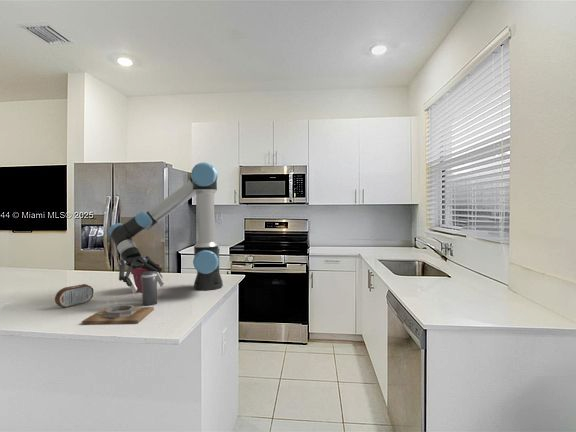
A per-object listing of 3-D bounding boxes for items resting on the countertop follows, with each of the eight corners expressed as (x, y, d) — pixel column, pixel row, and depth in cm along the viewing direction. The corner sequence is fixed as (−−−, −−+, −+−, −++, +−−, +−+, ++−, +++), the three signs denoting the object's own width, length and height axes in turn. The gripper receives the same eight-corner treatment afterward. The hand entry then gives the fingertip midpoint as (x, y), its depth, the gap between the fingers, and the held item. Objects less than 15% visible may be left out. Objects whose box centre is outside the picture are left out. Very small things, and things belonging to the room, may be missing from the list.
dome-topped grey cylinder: (159, 301, 146) (159, 271, 146) (154, 305, 140) (154, 273, 140) (145, 301, 146) (145, 271, 146) (139, 305, 140) (139, 273, 140)
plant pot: (166, 287, 174) (165, 263, 174) (152, 293, 160) (152, 268, 160) (140, 286, 175) (140, 263, 175) (125, 293, 161) (125, 267, 161)
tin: (91, 300, 149) (90, 282, 149) (94, 301, 147) (94, 282, 147) (54, 309, 136) (54, 289, 135) (58, 310, 134) (58, 290, 134)
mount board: (153, 309, 134) (153, 302, 134) (137, 323, 118) (137, 314, 118) (104, 310, 133) (104, 302, 133) (81, 324, 117) (81, 315, 117)
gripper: (149, 253, 162) (169, 287, 154) (98, 260, 141) (118, 299, 133) (156, 243, 159) (176, 277, 152) (105, 249, 138) (126, 288, 130)
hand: (149, 287), depth 142 cm, fingers open, 13 cm apart
